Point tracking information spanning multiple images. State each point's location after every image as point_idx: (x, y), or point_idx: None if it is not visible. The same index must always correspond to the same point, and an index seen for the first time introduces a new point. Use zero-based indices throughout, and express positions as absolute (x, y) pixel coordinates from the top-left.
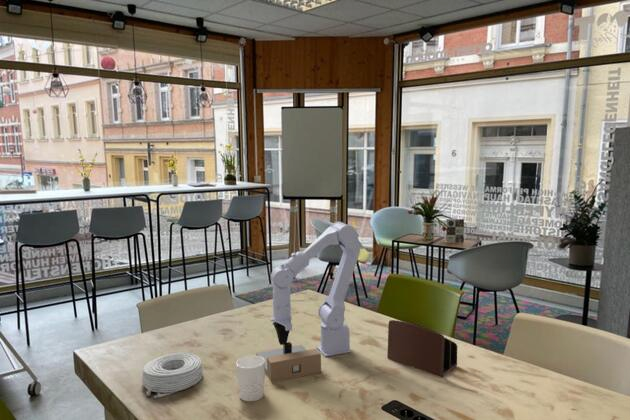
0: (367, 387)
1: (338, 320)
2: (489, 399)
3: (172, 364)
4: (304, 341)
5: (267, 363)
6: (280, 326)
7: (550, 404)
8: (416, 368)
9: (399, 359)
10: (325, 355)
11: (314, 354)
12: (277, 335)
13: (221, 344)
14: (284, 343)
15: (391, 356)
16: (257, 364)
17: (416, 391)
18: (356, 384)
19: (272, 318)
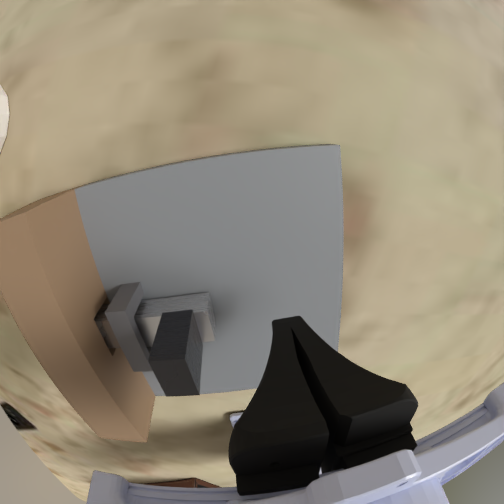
0: (61, 422)
1: None
2: (74, 479)
3: None
4: (383, 366)
5: (42, 203)
6: (234, 469)
7: (79, 491)
8: (148, 483)
9: (172, 486)
10: (230, 417)
11: (88, 423)
12: (322, 344)
13: (474, 43)
14: (180, 365)
15: (187, 484)
16: None
17: (69, 455)
18: (67, 415)
19: (364, 501)
